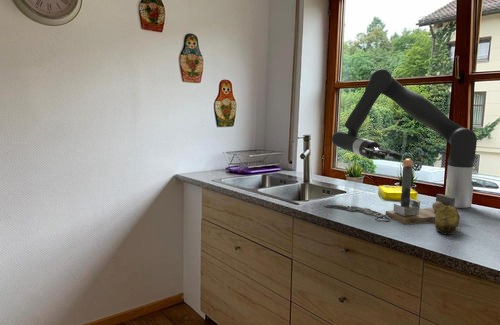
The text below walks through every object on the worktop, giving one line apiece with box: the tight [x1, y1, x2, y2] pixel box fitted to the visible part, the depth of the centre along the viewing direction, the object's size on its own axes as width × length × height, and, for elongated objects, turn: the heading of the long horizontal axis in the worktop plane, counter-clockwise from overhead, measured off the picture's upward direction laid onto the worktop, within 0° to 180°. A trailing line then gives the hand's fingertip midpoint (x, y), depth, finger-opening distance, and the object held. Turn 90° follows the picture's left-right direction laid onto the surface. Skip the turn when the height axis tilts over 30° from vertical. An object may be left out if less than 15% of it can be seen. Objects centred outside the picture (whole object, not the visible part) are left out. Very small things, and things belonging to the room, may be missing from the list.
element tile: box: [377, 184, 419, 202], centre depth 170 cm, size 15×15×5 cm
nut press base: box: [384, 193, 455, 225], centre depth 135 cm, size 23×11×8 cm, turn 105°
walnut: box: [431, 201, 444, 212], centre depth 137 cm, size 4×4×4 cm
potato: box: [434, 205, 461, 235], centre depth 121 cm, size 8×13×8 cm, turn 136°
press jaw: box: [392, 158, 421, 216], centre depth 132 cm, size 6×7×20 cm
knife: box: [323, 204, 392, 223], centre depth 142 cm, size 28×2×10 cm
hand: (393, 157), depth 140 cm, fingers open, 8 cm apart
